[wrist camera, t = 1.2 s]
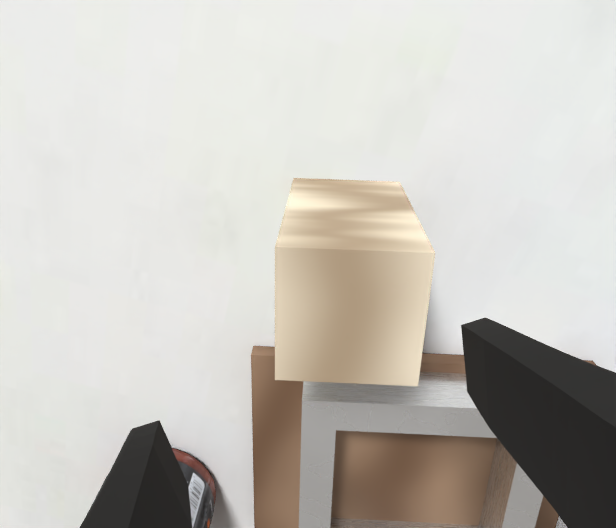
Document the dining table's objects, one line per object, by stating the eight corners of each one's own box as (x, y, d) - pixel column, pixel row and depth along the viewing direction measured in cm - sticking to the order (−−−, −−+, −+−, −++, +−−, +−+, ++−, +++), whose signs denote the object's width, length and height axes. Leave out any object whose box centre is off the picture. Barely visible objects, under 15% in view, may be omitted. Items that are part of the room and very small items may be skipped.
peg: (399, 181, 22) (435, 253, 14) (390, 278, 23) (417, 386, 16) (293, 178, 22) (275, 246, 14) (292, 274, 23) (274, 379, 16)
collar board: (592, 360, 25) (629, 405, 21) (541, 542, 29) (566, 600, 26) (253, 345, 25) (242, 387, 22) (256, 527, 30) (248, 582, 27)
